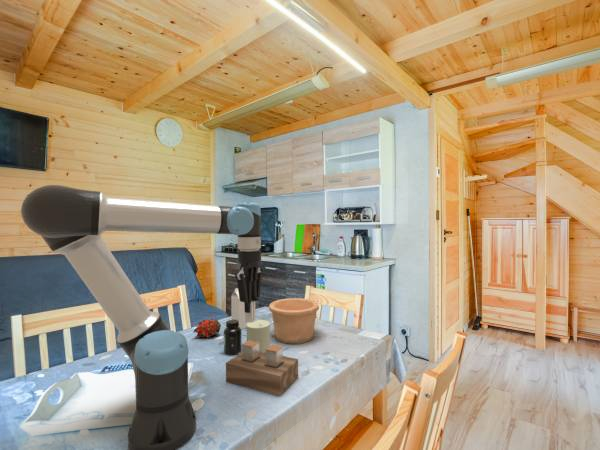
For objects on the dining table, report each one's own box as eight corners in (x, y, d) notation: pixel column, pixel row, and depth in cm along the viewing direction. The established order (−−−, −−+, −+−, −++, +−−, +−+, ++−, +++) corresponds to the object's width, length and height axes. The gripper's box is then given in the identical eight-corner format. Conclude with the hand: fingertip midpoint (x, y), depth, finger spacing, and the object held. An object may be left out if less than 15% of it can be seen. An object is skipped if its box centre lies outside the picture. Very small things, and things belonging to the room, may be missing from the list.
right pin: (276, 369, 96) (276, 351, 96) (265, 366, 98) (265, 349, 98) (282, 363, 100) (282, 346, 100) (272, 361, 102) (272, 344, 102)
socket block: (280, 396, 91) (280, 376, 91) (225, 381, 100) (225, 362, 100) (298, 377, 102) (298, 359, 102) (247, 365, 111) (247, 348, 111)
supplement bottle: (221, 355, 119) (221, 324, 119) (226, 348, 126) (226, 318, 126) (239, 355, 119) (239, 324, 118) (243, 348, 126) (242, 318, 125)
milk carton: (231, 326, 151) (231, 287, 151) (244, 323, 156) (243, 285, 155) (239, 330, 146) (238, 289, 145) (252, 326, 151) (251, 287, 150)
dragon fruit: (223, 338, 141) (196, 346, 135) (218, 322, 146) (192, 330, 141) (223, 326, 135) (195, 335, 130) (218, 311, 141) (191, 319, 136)
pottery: (307, 325, 152) (307, 296, 151) (327, 342, 131) (327, 308, 131) (264, 331, 144) (263, 300, 144) (277, 350, 123) (277, 314, 123)
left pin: (252, 363, 100) (252, 346, 100) (242, 361, 102) (242, 344, 102) (259, 358, 104) (259, 342, 104) (249, 356, 106) (249, 340, 105)
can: (252, 360, 114) (251, 328, 114) (242, 351, 122) (242, 321, 122) (274, 354, 119) (274, 323, 119) (264, 346, 127) (263, 317, 127)
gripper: (246, 252, 94) (247, 329, 95) (270, 248, 107) (270, 316, 107) (226, 251, 98) (227, 326, 98) (251, 247, 110) (252, 313, 110)
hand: (250, 321), depth 103 cm, fingers closed
